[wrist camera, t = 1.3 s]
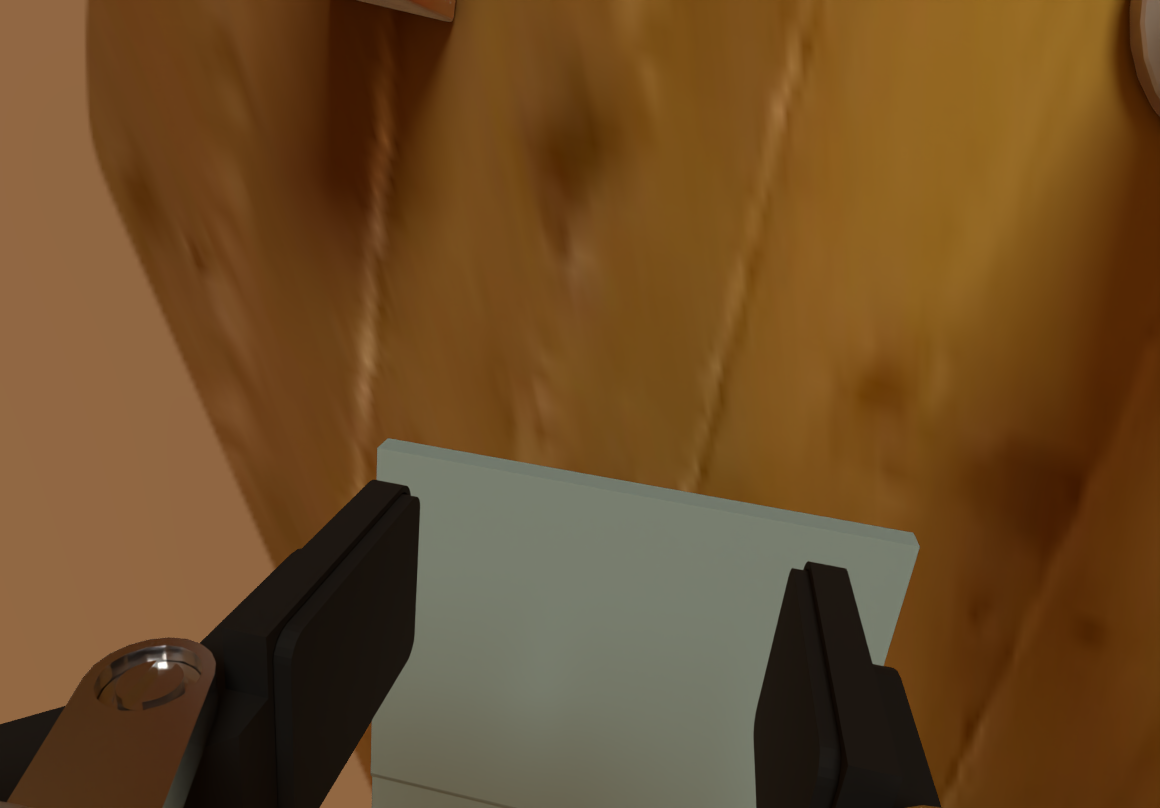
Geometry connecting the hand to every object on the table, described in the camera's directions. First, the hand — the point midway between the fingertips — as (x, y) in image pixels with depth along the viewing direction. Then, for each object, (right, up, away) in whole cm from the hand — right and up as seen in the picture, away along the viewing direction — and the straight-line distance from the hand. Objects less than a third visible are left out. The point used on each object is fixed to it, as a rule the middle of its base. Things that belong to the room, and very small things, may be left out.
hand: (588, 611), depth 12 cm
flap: (0, -11, +16) cm, 20 cm away
